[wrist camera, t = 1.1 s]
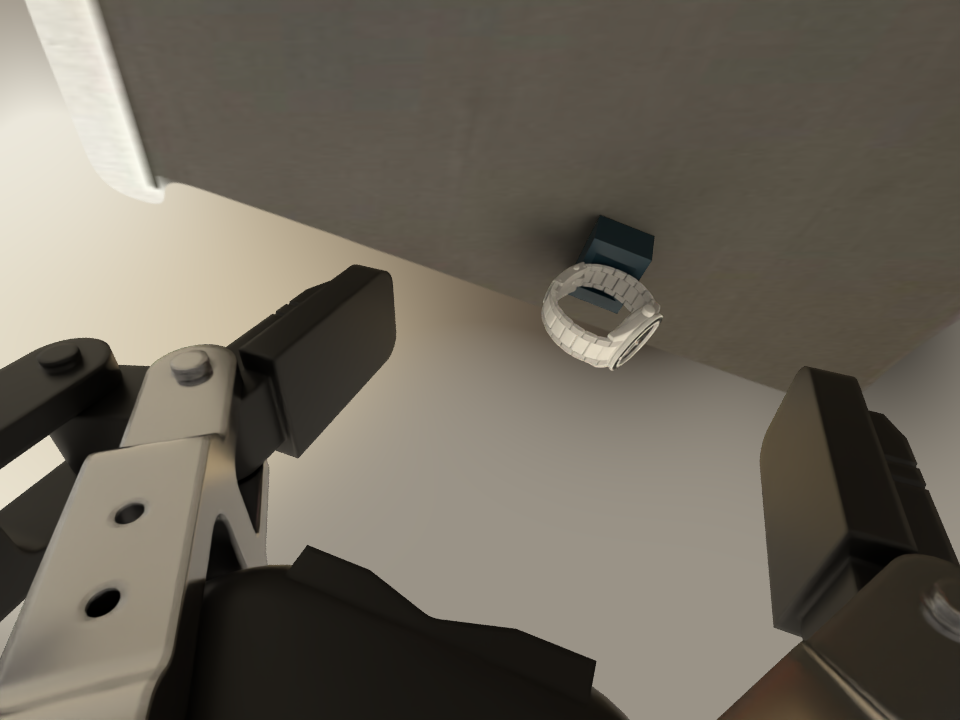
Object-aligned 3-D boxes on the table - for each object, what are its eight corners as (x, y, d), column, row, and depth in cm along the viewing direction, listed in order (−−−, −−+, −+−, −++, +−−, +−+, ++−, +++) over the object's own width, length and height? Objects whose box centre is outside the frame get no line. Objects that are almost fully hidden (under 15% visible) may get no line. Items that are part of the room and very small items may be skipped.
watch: (643, 298, 42) (631, 398, 35) (552, 262, 42) (522, 355, 35) (679, 245, 38) (675, 346, 31) (578, 205, 38) (550, 297, 31)
